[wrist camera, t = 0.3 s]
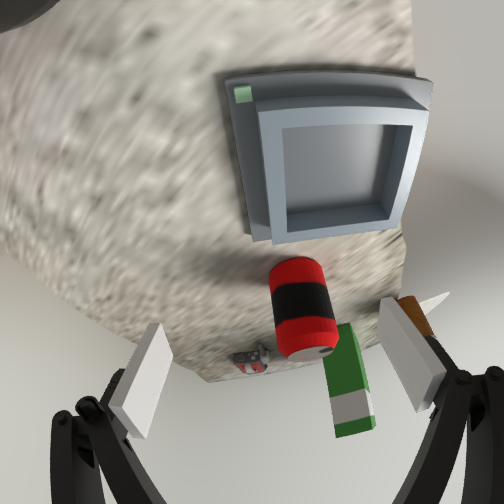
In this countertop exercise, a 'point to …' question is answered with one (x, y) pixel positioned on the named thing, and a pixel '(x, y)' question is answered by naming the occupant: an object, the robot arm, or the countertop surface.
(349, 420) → the cereal box
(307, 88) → the dock
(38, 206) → the countertop surface
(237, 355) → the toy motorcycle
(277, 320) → the soda can
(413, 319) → the disposable coffee cup
